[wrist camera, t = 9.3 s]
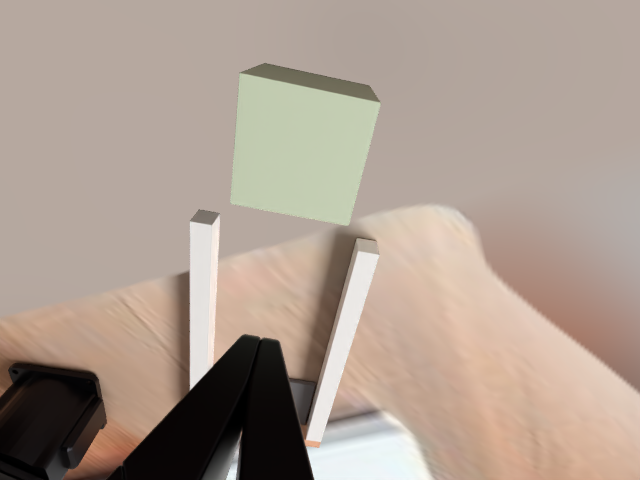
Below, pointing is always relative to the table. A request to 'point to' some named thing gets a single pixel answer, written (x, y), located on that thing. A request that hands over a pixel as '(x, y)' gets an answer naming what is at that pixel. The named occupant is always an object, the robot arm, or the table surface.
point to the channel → (204, 311)
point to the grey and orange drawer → (303, 405)
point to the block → (301, 142)
